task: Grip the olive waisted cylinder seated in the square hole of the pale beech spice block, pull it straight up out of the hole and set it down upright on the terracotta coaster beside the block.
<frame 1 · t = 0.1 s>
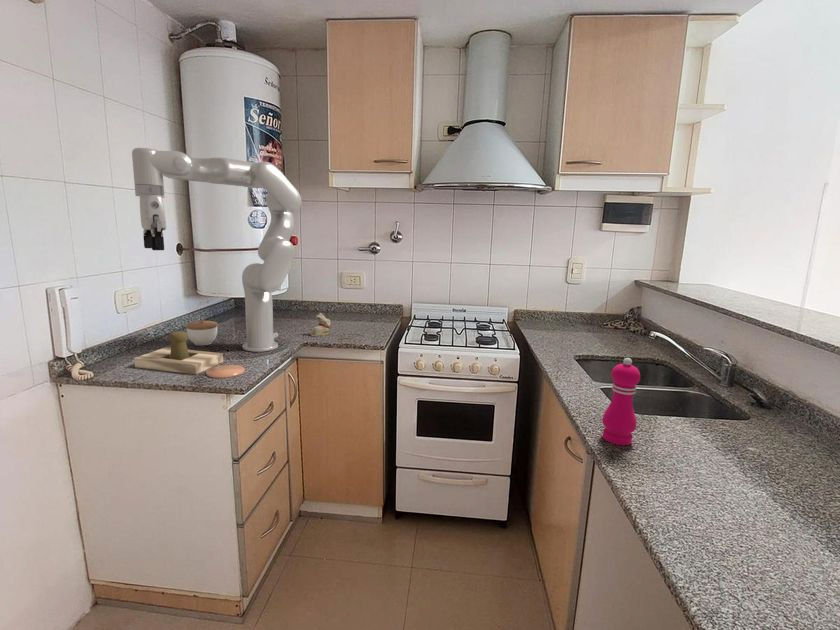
hand: (154, 249, 135), 37 cm above the worktop, tool pointing down, fingers open, 9 cm apart
olive waisted cylinder: (180, 365, 142), resting in spice block
spice block: (180, 364, 142), on the worktop
pepper mill: (616, 440, 103), on the worktop
coaster: (225, 372, 137), on the worktop
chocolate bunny: (320, 335, 186), on the worktop
white bowl: (203, 343, 167), on the worktop
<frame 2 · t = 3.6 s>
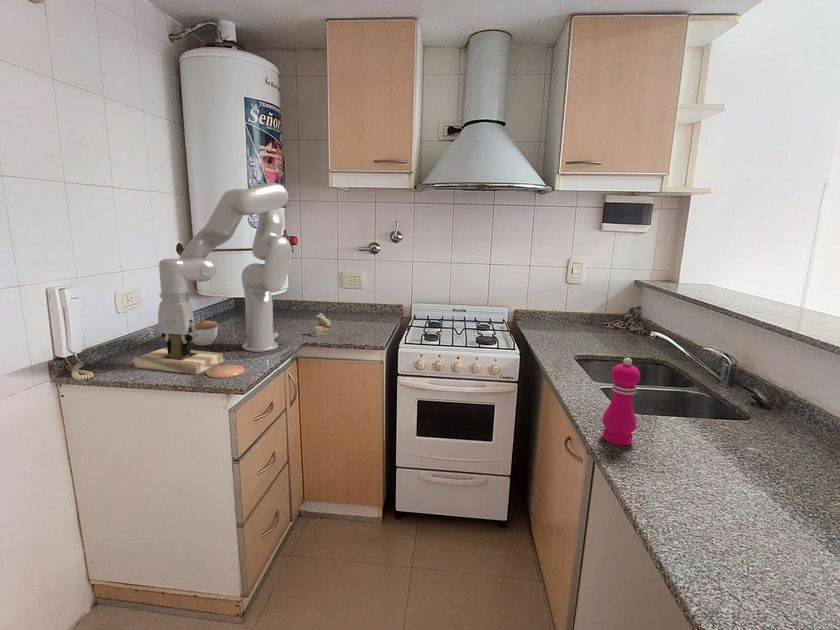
hand: (179, 353, 141), 4 cm above the worktop, tool pointing down, fingers closed on olive waisted cylinder, 4 cm apart
olive waisted cylinder: (180, 365, 142), resting in spice block, touching gripper
everything else where it was.
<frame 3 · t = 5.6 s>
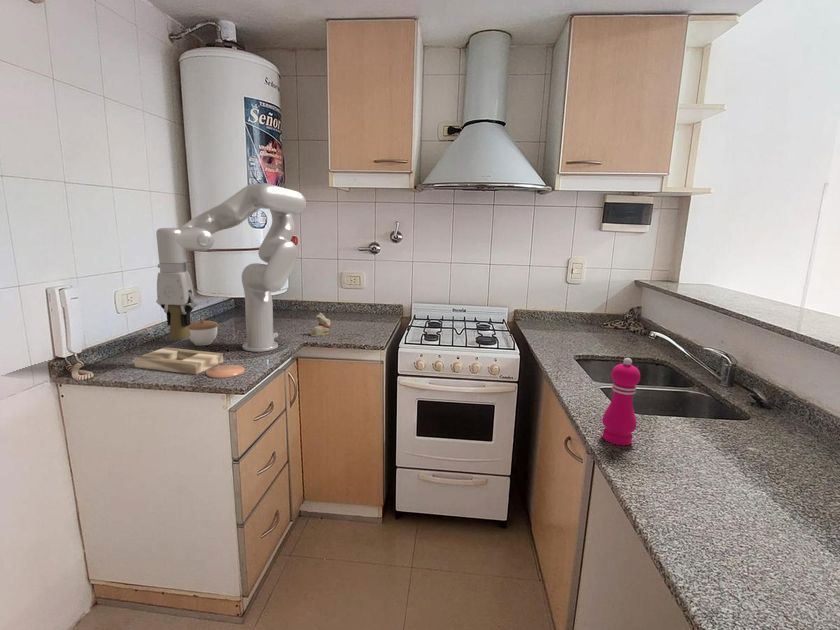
hand: (179, 324, 140), 13 cm above the worktop, tool pointing down, fingers closed on olive waisted cylinder, 4 cm apart
olive waisted cylinder: (180, 336, 141), point 9 cm above the worktop, touching gripper
everything else where it was.
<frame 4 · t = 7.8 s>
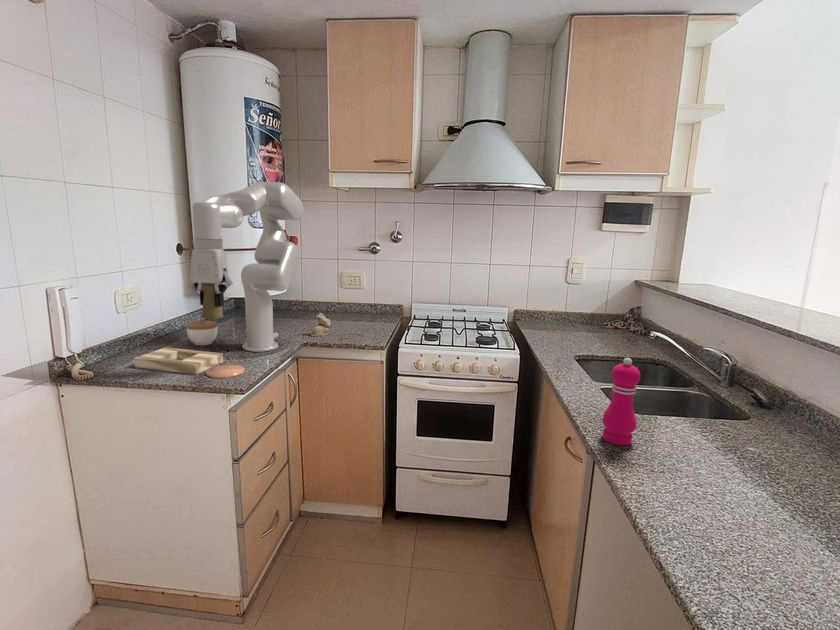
hand: (212, 304, 134), 21 cm above the worktop, tool pointing down, fingers closed on olive waisted cylinder, 4 cm apart
olive waisted cylinder: (212, 317, 135), point 17 cm above the worktop, touching gripper
everything else where it was.
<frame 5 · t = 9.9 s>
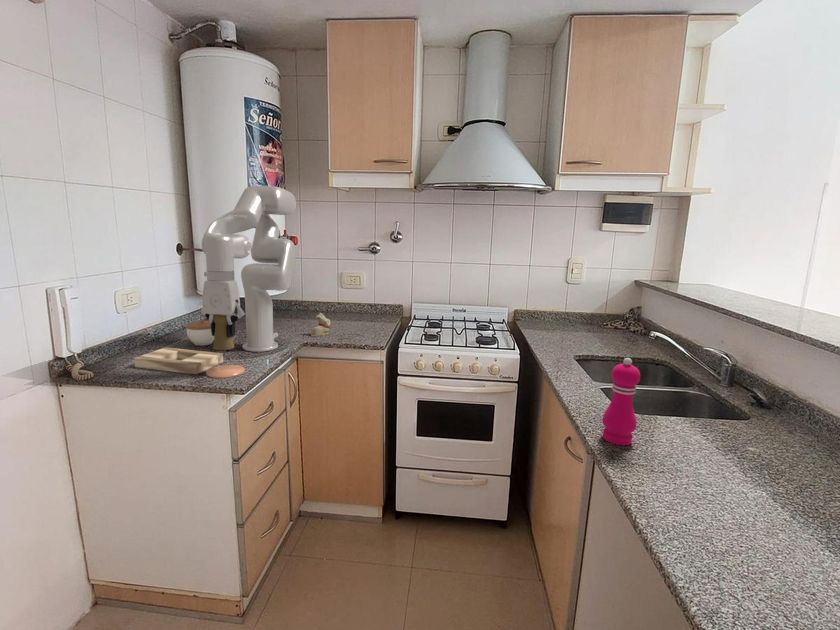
hand: (223, 335, 134), 12 cm above the worktop, tool pointing down, fingers closed on olive waisted cylinder, 4 cm apart
olive waisted cylinder: (223, 348, 135), point 8 cm above the worktop, touching gripper
everything else where it was.
when the fingers open (6 cm above the worktop, at t = 11.9 s): olive waisted cylinder drops 1 cm, resting on coaster.
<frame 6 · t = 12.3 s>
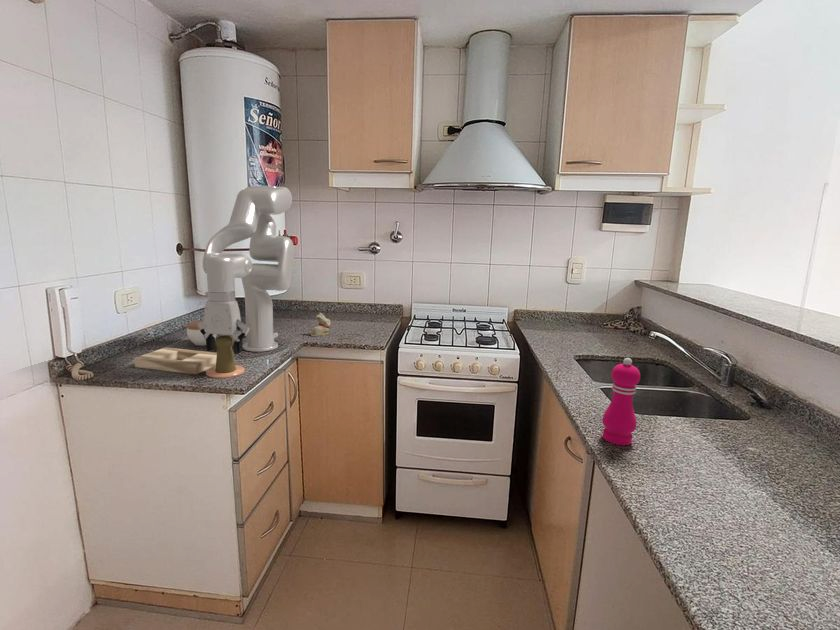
hand: (224, 351, 136), 7 cm above the worktop, tool pointing down, fingers open, 9 cm apart
olive waisted cylinder: (225, 370, 137), resting on coaster
everything else where it was.
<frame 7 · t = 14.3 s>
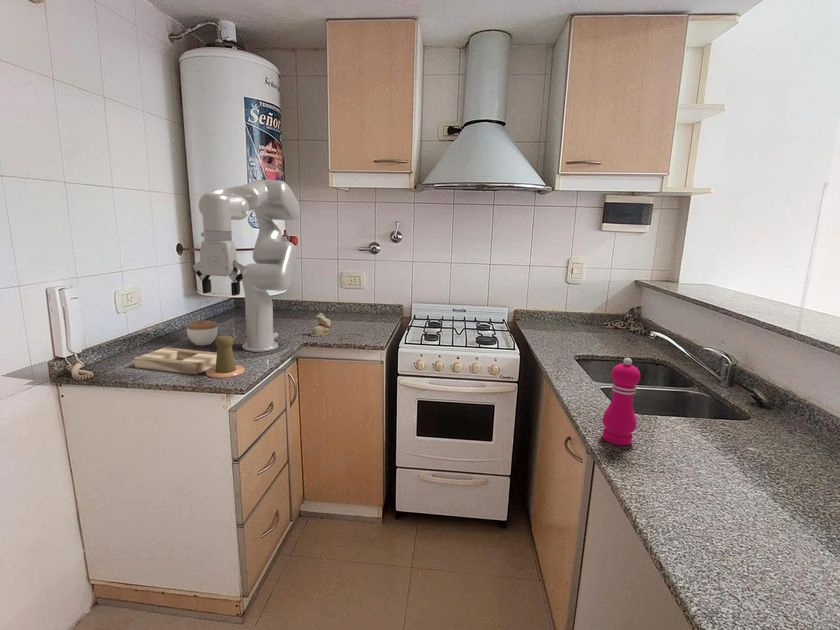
hand: (221, 293, 133), 25 cm above the worktop, tool pointing down, fingers open, 9 cm apart
nothing on the worktop moved.
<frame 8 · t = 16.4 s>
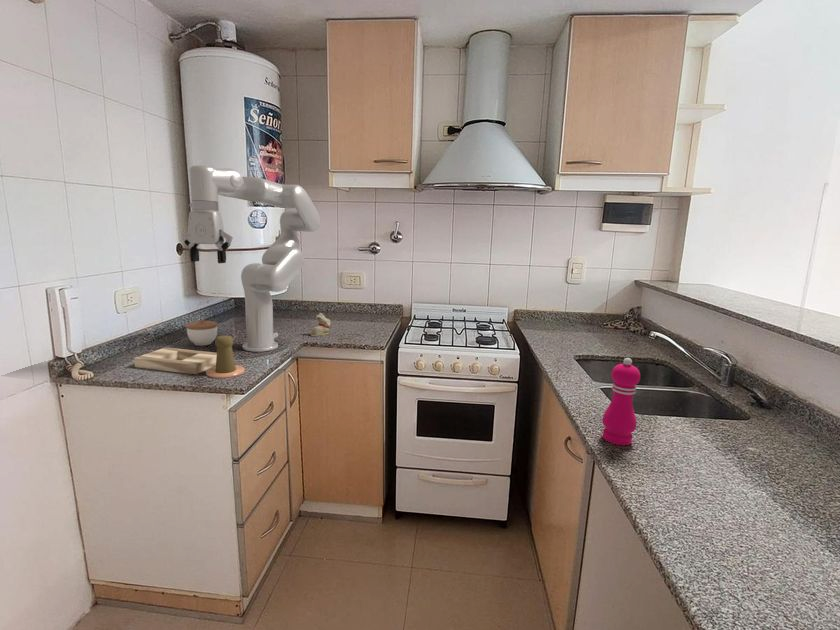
hand: (208, 262, 140), 33 cm above the worktop, tool pointing down, fingers open, 9 cm apart
nothing on the worktop moved.
at the end: olive waisted cylinder 0.1 cm off-centre on the coaster, point 0.4 cm above the coaster's base; olive waisted cylinder tilted 0°; the gripper is holding nothing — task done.
